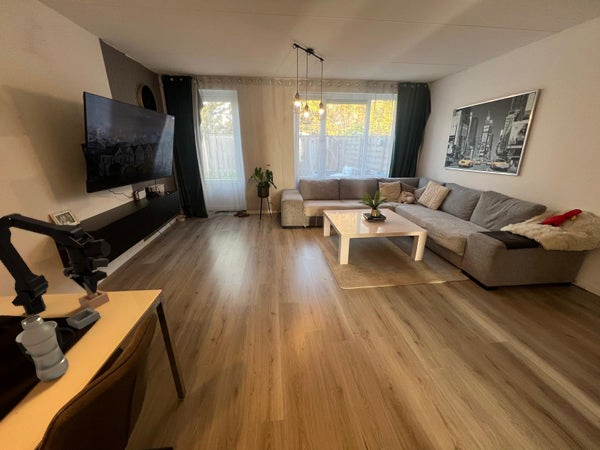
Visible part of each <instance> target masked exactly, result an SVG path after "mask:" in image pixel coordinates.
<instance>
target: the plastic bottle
mask: <svg viewBox="0 0 600 450" xmlns="http://www.w3.org/2000/svg"><path fill="white" fill-rule="evenodd" d="M44 322H45V321H44V319H43V318H42V316H41V315H40V314H39V315H38V314H35V315H31V316H29V317H26V318H25V319H23V320H22V321H20V323H21V326H22V329H23V331H25V332H24V333H23V335H22V338H21V342H22V344H23V346H24V347H25V348H26V349H27V350H28V352H29V353H30V355H31V356H32V358H33V360H34V363H35V364H34V363H33V364H34V365H35V373H36V376H37V378H38V379H39V380H40V381H43V382H51V381H54V380H57V379H58V378H60V377H62V376H63V375H64V374H65V373H66V372H67V371H68V368H69V367H70V363H69V360H68V358H67V356H66V355H64V353H63V352H62V351H61V350H60V348H59V345H58V342H57V339H56V333H55V329H54V327H52V326H51V325H49V324H45V323H44Z"/></svg>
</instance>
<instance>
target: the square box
mask: <svg viewBox="0 0 600 450" xmlns="http://www.w3.org/2000/svg"><path fill="white" fill-rule="evenodd" d="M97 295H98V297H96V298H94V299H92V300H90V301H89V298H88V295H87V294H85V295H83V296H81V297H79V298H77V299H78V303H79V305H80V307H81V308H83V309H84V310H85V309H86V308H90V309H92V310H95V309H97V308H99V307H102V305H105V304H107V303H108V302H110V297H109V294H108V292H105V291H102V290H99V289H97Z"/></svg>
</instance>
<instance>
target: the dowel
mask: <svg viewBox="0 0 600 450" xmlns="http://www.w3.org/2000/svg"><path fill="white" fill-rule="evenodd" d="M84 287H85V290H86V291H85V290H84V291H85V292H86V295H88V298H89V301H90V300H92V299H94V298H96V297H98V295H97V292H96V293H92V292H91V291H90V290H89V289H88V288H87V287H86V286H85V285H84Z"/></svg>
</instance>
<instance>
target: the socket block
mask: <svg viewBox="0 0 600 450" xmlns="http://www.w3.org/2000/svg"><path fill="white" fill-rule="evenodd" d="M100 318H101V315H100V312H99V311H97V310H95V309H94V310H92V309H90V308H86V309H85V308H84V309H83V310H80V311H79V312H77V313H75V314H74V315H71V316H70V317H68V318H66V319H65V320H66V322H67V324H68V326H70V327H73V328H75V329H78V330H81V329H83V328H85V327H87V326H88V325H90V324H92V323H93V322H95V321H97V320H99V319H100Z"/></svg>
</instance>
